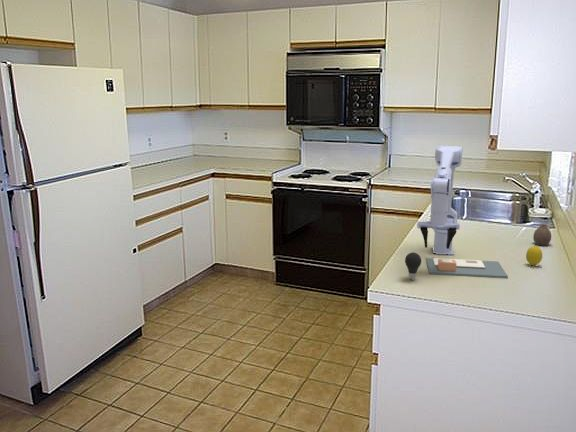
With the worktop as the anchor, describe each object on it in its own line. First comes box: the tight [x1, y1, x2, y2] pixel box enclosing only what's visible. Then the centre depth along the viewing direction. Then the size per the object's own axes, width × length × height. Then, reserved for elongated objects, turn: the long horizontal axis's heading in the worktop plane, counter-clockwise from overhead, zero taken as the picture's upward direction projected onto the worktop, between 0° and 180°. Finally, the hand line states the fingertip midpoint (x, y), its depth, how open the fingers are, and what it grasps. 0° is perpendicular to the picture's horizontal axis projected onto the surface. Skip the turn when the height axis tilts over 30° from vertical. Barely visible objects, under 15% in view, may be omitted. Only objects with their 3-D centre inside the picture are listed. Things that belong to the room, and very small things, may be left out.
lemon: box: [525, 245, 543, 267], centre depth 191 cm, size 6×6×8 cm
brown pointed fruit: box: [532, 223, 552, 247], centre depth 217 cm, size 7×7×9 cm
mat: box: [425, 257, 509, 279], centre depth 189 cm, size 16×27×1 cm, turn 80°
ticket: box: [433, 257, 485, 269], centre depth 192 cm, size 8×18×1 cm, turn 79°
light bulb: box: [404, 252, 422, 280], centre depth 178 cm, size 6×6×10 cm
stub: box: [438, 258, 457, 271], centre depth 186 cm, size 4×6×3 cm, turn 79°
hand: (436, 247), depth 184 cm, fingers open, 7 cm apart
